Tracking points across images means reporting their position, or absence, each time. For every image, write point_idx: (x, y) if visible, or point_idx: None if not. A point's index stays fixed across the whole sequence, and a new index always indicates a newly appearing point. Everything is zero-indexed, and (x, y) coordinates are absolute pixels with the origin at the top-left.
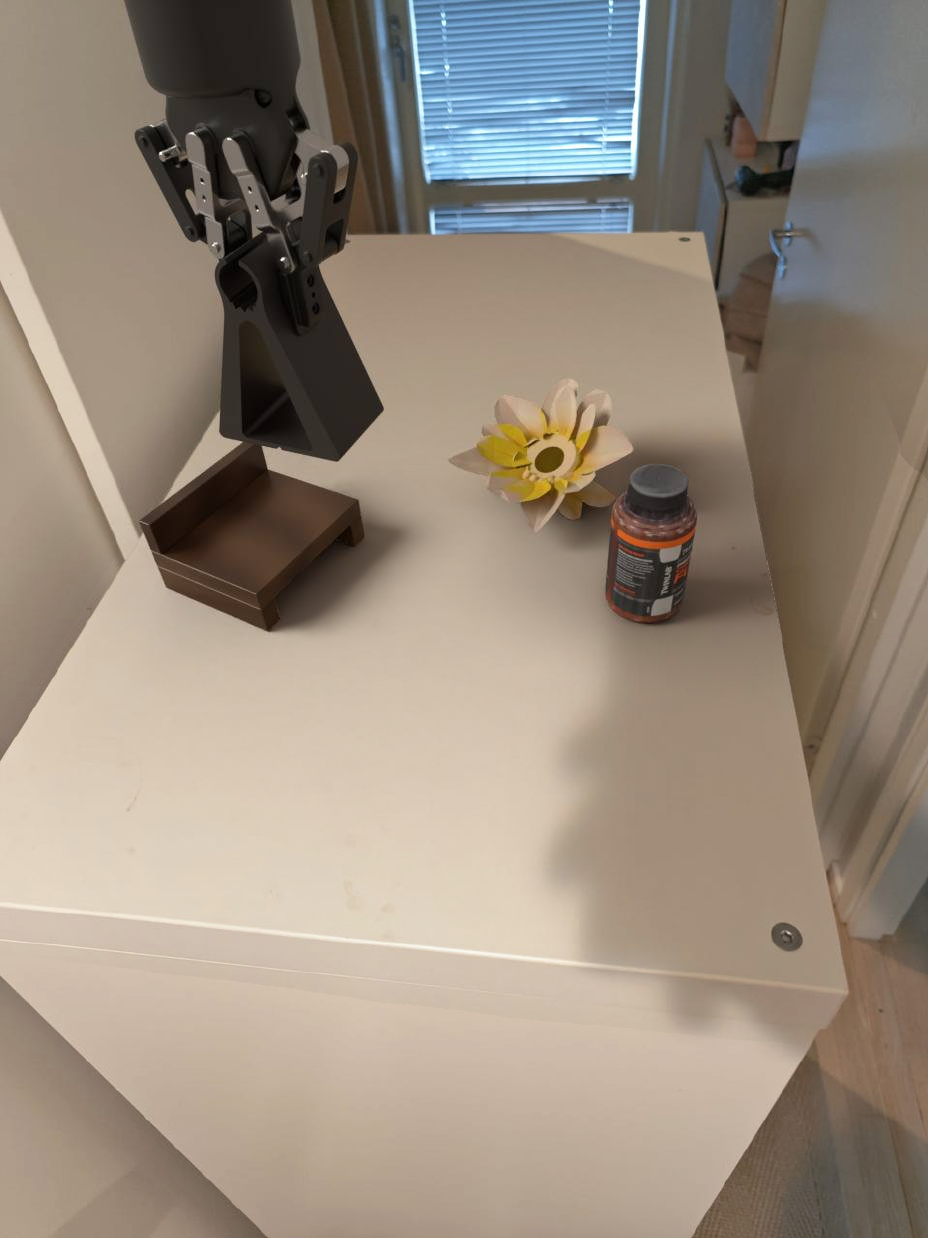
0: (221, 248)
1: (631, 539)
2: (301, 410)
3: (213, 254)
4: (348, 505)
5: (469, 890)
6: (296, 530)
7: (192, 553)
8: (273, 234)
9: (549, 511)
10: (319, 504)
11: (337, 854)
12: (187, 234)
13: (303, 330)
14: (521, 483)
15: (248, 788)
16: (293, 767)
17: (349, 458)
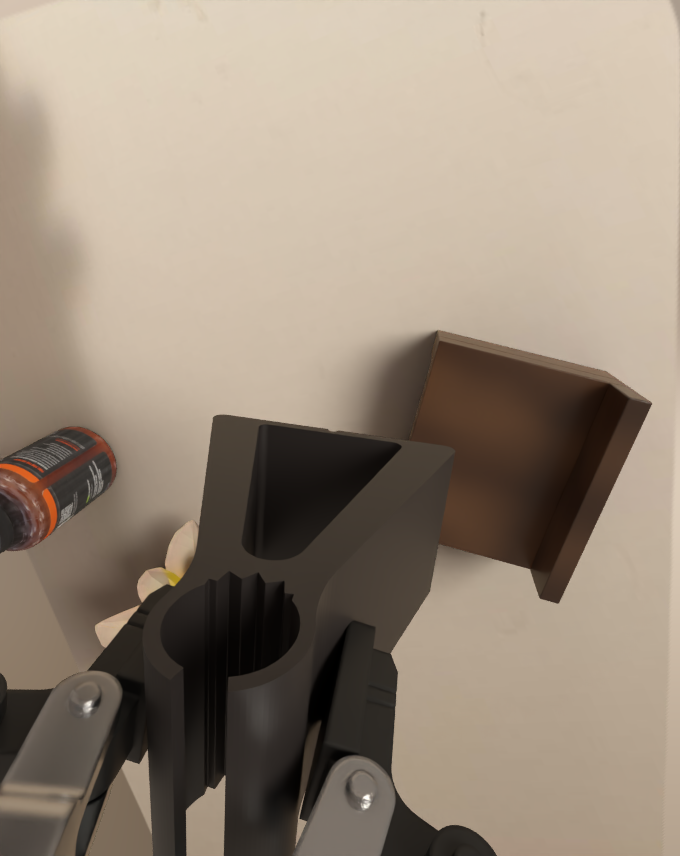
0: (335, 783)
1: (16, 470)
2: (240, 452)
3: (384, 772)
4: None
5: (95, 58)
6: None
7: (563, 394)
8: (46, 784)
9: (189, 552)
10: None
11: (227, 49)
12: (473, 852)
13: None
14: None
15: (356, 97)
16: (321, 144)
17: (462, 627)
